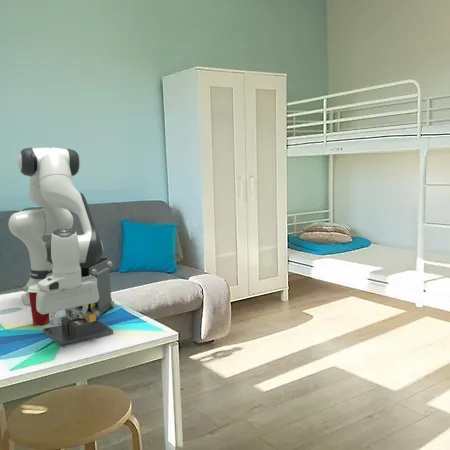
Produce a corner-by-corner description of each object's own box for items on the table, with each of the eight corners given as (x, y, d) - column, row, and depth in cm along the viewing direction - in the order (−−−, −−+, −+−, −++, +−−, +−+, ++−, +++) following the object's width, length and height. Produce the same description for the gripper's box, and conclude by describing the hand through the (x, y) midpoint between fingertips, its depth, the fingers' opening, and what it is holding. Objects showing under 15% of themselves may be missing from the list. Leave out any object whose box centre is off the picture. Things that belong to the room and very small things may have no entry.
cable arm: (63, 309, 179) (62, 303, 179) (71, 307, 181) (71, 301, 181) (88, 322, 165) (88, 315, 164) (97, 320, 167) (97, 313, 167)
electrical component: (96, 320, 188) (93, 268, 185) (71, 319, 190) (68, 267, 187) (116, 306, 205) (113, 258, 202) (92, 305, 207) (89, 257, 204)
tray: (43, 333, 176) (42, 315, 175) (92, 321, 187) (91, 304, 186) (61, 346, 163) (60, 327, 162) (113, 333, 174) (112, 315, 173)
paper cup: (56, 322, 187) (53, 285, 185) (36, 328, 181) (33, 290, 179) (45, 318, 192) (43, 282, 190) (26, 323, 187) (23, 286, 185)
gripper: (92, 272, 172) (94, 312, 174) (32, 283, 159) (35, 326, 161) (101, 275, 168) (103, 316, 169) (40, 287, 154) (43, 331, 156)
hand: (70, 321), depth 165 cm, fingers open, 7 cm apart
